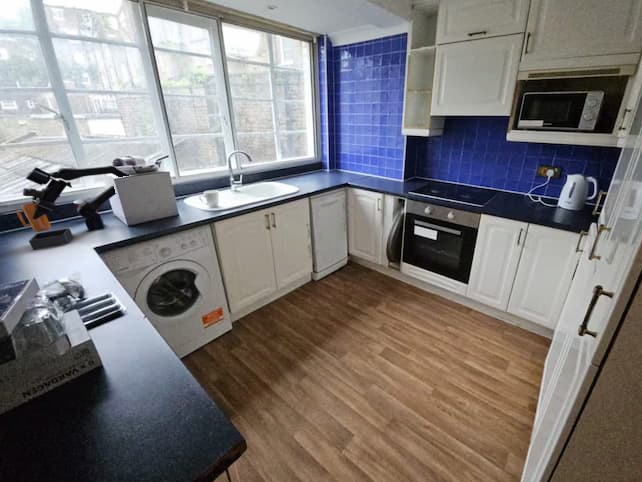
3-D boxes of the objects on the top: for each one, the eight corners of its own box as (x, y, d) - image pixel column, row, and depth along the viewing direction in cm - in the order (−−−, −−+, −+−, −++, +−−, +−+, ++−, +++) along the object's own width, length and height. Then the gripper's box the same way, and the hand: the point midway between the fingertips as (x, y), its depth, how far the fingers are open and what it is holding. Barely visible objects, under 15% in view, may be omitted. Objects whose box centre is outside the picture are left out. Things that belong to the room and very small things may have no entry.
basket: (73, 236, 152) (69, 228, 150) (67, 243, 143) (63, 235, 141) (40, 241, 146) (36, 233, 144) (33, 250, 137) (28, 241, 135)
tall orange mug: (53, 226, 149) (41, 201, 144) (49, 230, 144) (36, 204, 139) (29, 230, 145) (16, 204, 140) (24, 234, 140) (10, 208, 135)
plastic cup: (91, 222, 171) (82, 202, 166) (76, 221, 173) (67, 202, 168) (109, 216, 180) (101, 197, 176) (95, 215, 183) (87, 197, 178)
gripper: (28, 179, 144) (7, 206, 141) (35, 183, 134) (11, 213, 130) (57, 191, 153) (37, 217, 150) (65, 196, 143) (44, 224, 139)
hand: (32, 217), depth 142 cm, fingers closed on tall orange mug, 6 cm apart
